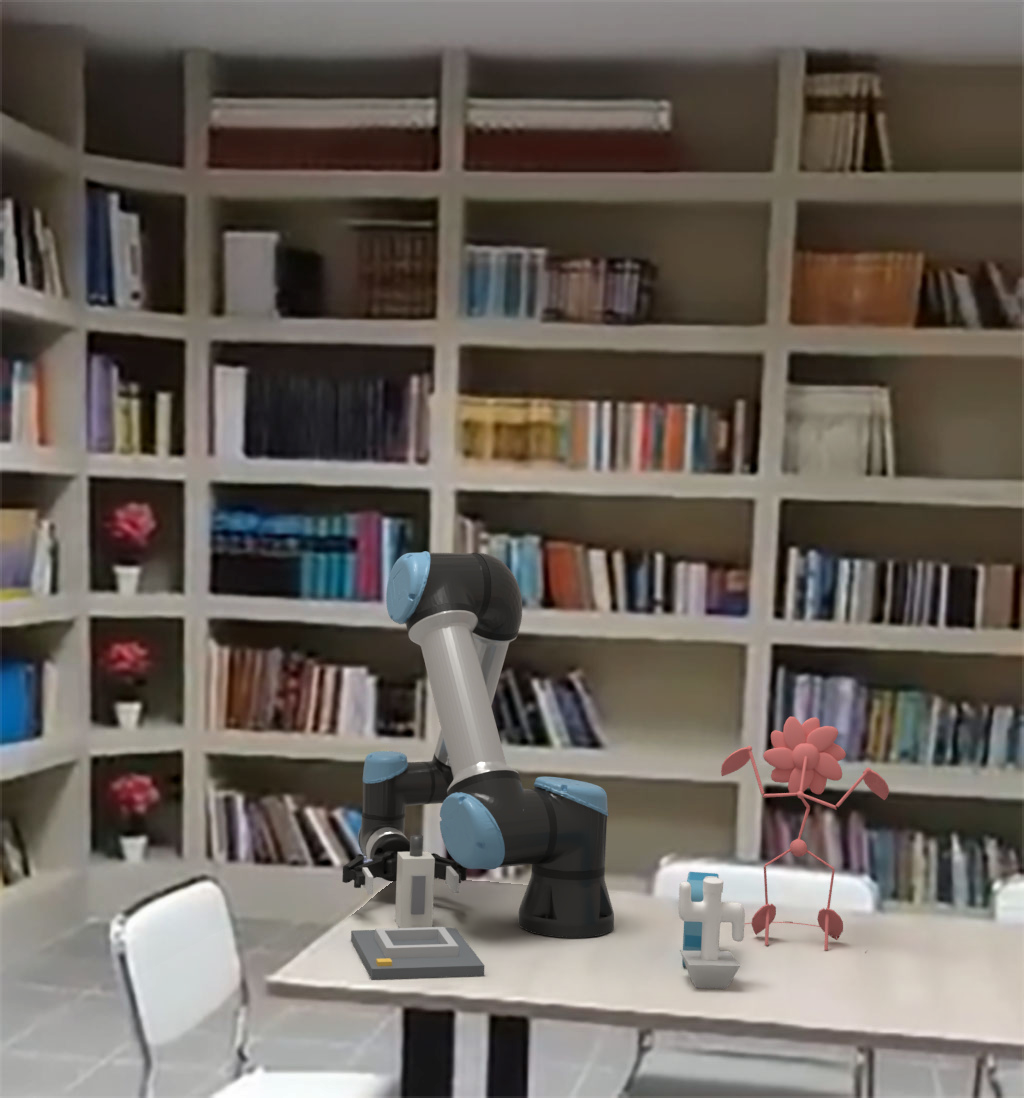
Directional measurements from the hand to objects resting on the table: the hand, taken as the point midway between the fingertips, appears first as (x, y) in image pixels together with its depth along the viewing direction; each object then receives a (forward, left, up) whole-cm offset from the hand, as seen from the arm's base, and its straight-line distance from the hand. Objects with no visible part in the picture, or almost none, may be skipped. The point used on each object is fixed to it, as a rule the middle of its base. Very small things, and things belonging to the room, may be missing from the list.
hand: (413, 884), depth 259 cm
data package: (-39, +23, -7) cm, 46 cm away
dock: (+3, +18, -6) cm, 19 cm away
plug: (0, 0, -6) cm, 6 cm away
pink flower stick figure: (-59, +13, -7) cm, 61 cm away
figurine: (-36, +35, -7) cm, 51 cm away
